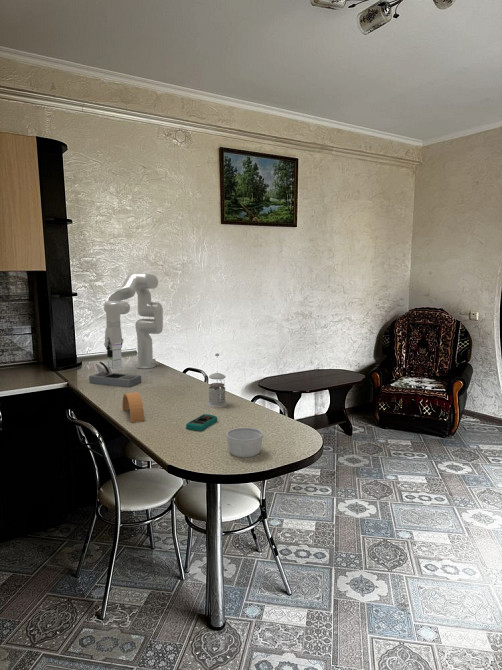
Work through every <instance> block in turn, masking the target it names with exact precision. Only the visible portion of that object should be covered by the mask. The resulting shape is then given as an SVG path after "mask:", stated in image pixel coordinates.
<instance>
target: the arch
mask: <svg viewBox="0 0 502 670" xmlns="http://www.w3.org/2000/svg"><path fill="white" fill-rule="evenodd" d="M121 409H123V410H122V411H128V410H127V409H130V410H129V415H130V423H139V422H145V414H144V412H145V411H144V406H143V402H142V397H141V395H140V393H139V392H128V393H127V392H126V393H123V397H122V405H121Z"/></svg>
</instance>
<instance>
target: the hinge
mask: <svg viewBox="0 0 502 670" xmlns="http://www.w3.org/2000/svg"><path fill="white" fill-rule="evenodd" d="M95 366H96V369H97V371H98V373H101V372H109V373H113V372H112V371H111V368H108V363H107V362H105V361H103V360H102V361H99V362H97V363H96V364H95Z"/></svg>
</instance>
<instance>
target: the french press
mask: <svg viewBox="0 0 502 670" xmlns="http://www.w3.org/2000/svg"><path fill="white" fill-rule="evenodd" d="M219 356H220V353H215V357H219ZM226 377H227V376H226V375H225V374H223V373H219V372H215V373H212V374H209V376H208V378H209V379H211V380H219V381H220V382H213V383H210V384H209V388H208V402H207V404H206V405H207V406H208V407H211V408H223V407H226V406H227V405H228V403H227V402H226V386H225V383H224V382H223V383H222V381H225V378H226Z"/></svg>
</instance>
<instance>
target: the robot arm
mask: <svg viewBox="0 0 502 670" xmlns="http://www.w3.org/2000/svg"><path fill="white" fill-rule="evenodd" d="M158 285H159V279H158V277H157V275H154V274H151V273H147V272H132V273H129V274H128V275H127V276H126V277H125V280H124V282H123V283H122V285H121V287H120V288H118V289H117V290H115V291H113V292H111V293H110V294H109V295H108V296H107V298H106V299H105V302H104V305H103V310H104V313H105V314H106V316H105V321H106V327H105V332H104V344H103V345H104V347H105V349H106V353H107V355H106V356H107V358H108V357H113V350H112V346H113V345H115V343H118V342H120V343H121V349H122V347H123V343H124V339H123V333H122V328H121V326H122V325H121V324H122V323H121V315H126V314H129V313H130V310H131V305H130V304H129V302H128V301H125V300H128V299H132V298H133V297H134V296H135V294H137V313H138V316H140V317H143V318H140V319H137V320H136V322H135V325H134V326H135V332H136V339H137V341H136V342H137V343H136V344H137V364H135V368H136V369H152V368H155V367H156V364H155V363H154V362H156V358H153V357H154V356H153V354H154V353H153V338H152V336H151V335H159V334H161V333H162V332H163V328H164V309H163V305H162V304H161V303H160V302H158V301H155V302H154V301H152V293H151V291H150V290H149V289H151V290H154V289H156V288H158ZM144 317H145V318H144ZM150 334H151V335H150ZM109 346H110V347H109Z"/></svg>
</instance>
